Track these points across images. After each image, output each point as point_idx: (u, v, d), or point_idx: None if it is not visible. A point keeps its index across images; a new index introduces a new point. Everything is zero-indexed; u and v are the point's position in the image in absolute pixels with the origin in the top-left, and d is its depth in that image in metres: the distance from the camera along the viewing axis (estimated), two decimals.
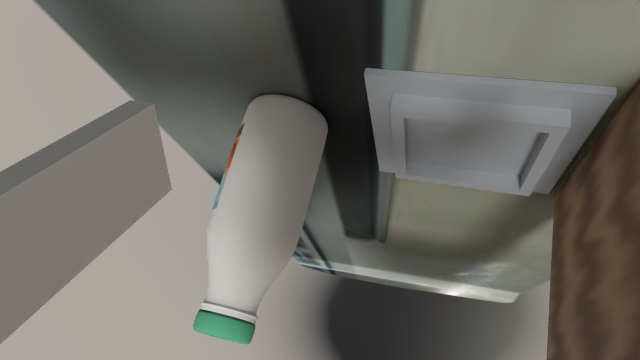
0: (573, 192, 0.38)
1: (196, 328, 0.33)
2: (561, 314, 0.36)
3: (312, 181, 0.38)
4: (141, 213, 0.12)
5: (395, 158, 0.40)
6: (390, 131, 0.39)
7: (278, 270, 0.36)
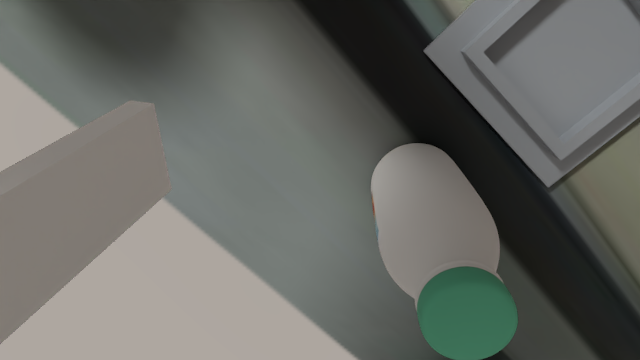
0: None
1: (422, 315, 0.21)
2: None
3: (464, 176, 0.33)
4: (141, 213, 0.12)
5: (530, 123, 0.36)
6: (500, 106, 0.37)
7: (485, 229, 0.26)
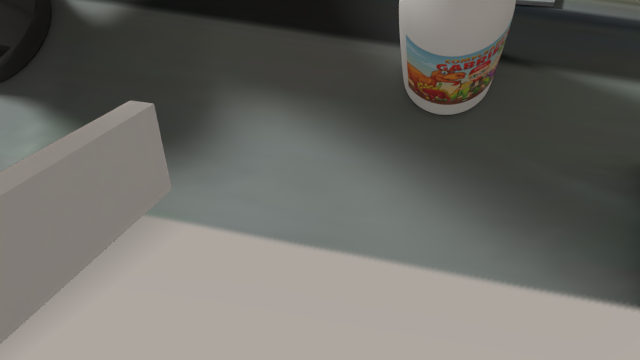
0: None
1: None
2: None
3: None
4: (141, 213, 0.12)
5: None
6: None
7: None
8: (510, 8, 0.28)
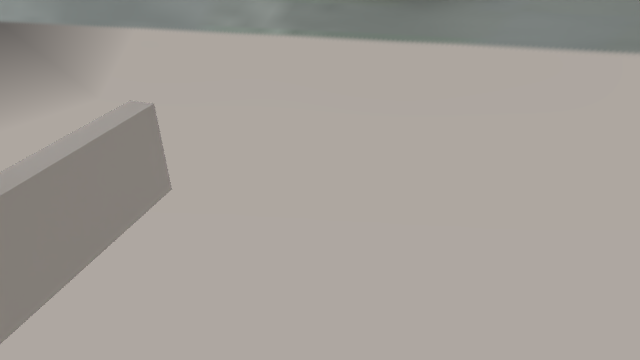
0: None
1: None
2: None
3: None
4: (141, 213, 0.12)
5: None
6: None
7: None
8: None
